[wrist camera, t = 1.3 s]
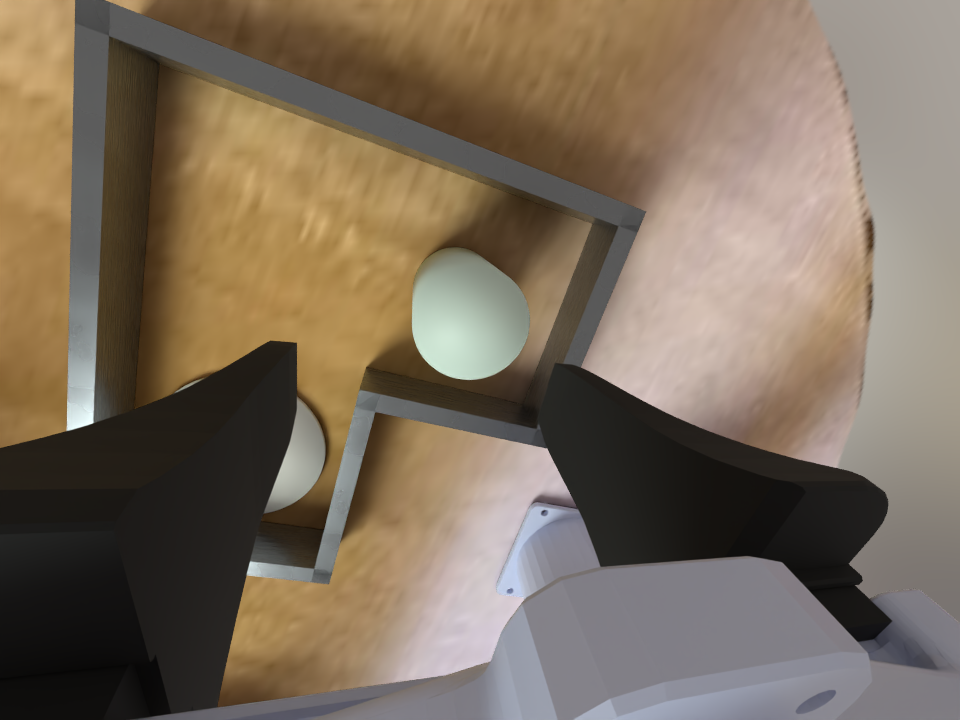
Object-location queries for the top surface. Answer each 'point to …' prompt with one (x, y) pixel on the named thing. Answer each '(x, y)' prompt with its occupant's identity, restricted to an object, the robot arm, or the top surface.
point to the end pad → (297, 459)
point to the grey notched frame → (132, 106)
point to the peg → (467, 315)
